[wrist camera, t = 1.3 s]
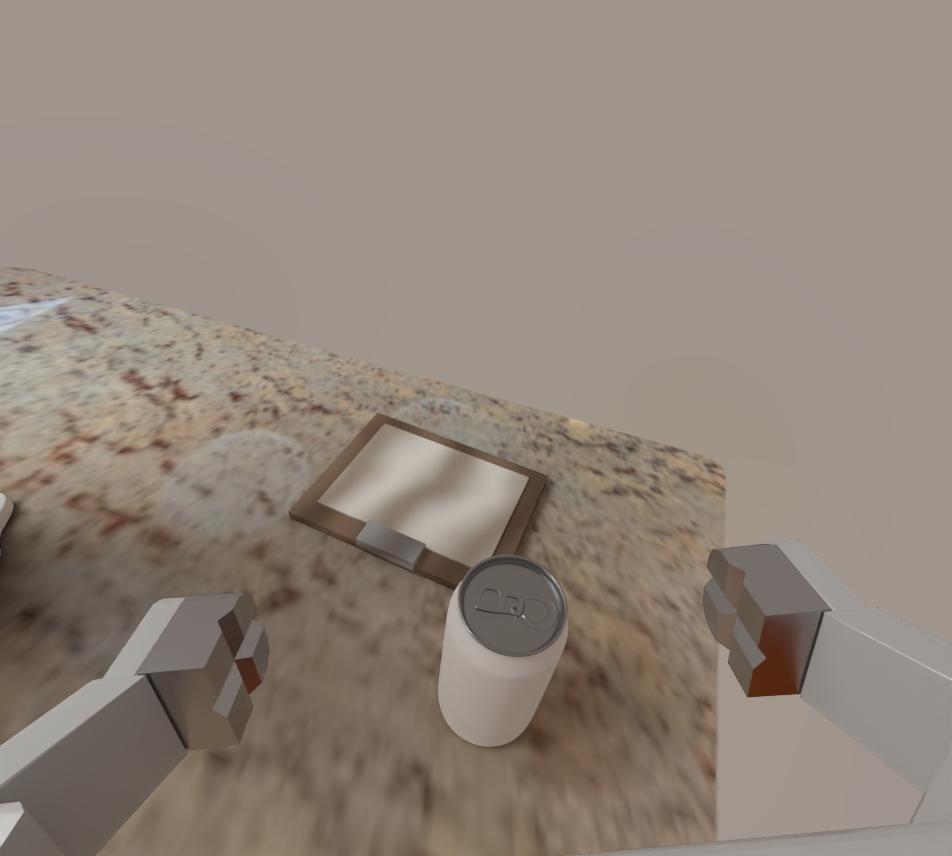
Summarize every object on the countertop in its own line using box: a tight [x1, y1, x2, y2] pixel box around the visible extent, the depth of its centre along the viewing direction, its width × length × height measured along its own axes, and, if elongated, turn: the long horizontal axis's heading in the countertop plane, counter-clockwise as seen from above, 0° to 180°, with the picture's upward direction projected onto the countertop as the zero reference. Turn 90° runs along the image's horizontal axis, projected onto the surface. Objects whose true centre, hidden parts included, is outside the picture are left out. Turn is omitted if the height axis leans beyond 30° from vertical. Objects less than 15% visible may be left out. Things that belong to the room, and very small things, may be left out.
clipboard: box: [289, 413, 548, 590], centre depth 46 cm, size 18×14×2 cm
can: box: [438, 555, 568, 747], centre depth 31 cm, size 6×6×12 cm
